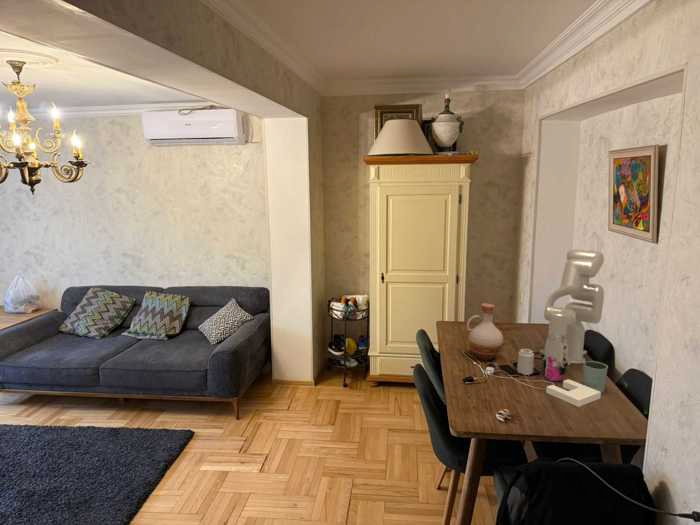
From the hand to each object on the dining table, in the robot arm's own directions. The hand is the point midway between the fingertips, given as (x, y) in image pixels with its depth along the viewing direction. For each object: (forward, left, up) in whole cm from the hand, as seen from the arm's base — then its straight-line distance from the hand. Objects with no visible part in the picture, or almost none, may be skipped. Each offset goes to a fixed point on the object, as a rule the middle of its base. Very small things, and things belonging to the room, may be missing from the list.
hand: (554, 371), depth 233 cm
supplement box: (0, 0, -4) cm, 4 cm away
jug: (+8, -38, -4) cm, 39 cm away
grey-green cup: (-6, +17, -4) cm, 18 cm away
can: (+6, -12, -4) cm, 14 cm away
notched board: (+8, +16, -4) cm, 18 cm away
